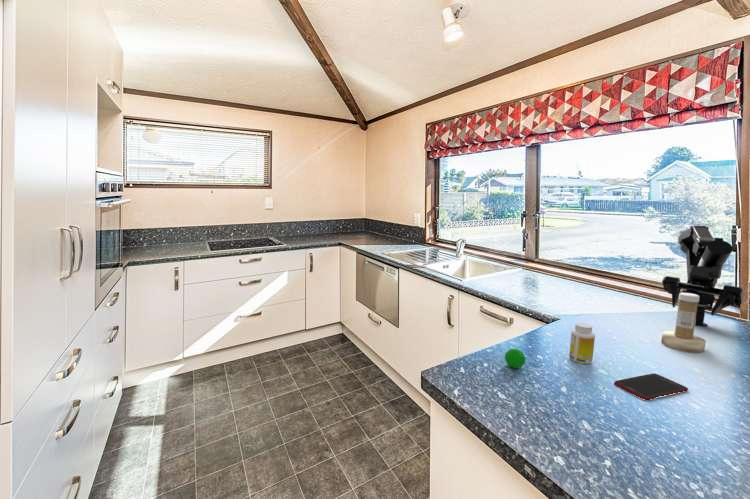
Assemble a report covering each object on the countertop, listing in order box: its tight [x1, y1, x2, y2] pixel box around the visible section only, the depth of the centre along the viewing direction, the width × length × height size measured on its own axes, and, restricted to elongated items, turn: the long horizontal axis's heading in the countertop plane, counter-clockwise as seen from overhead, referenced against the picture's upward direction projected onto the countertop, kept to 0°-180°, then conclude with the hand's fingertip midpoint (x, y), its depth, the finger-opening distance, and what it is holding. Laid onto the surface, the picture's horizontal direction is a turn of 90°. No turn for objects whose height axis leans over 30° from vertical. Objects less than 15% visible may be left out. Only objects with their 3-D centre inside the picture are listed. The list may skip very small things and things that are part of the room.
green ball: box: [504, 348, 526, 369], centre depth 92 cm, size 5×5×5 cm
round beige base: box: [660, 330, 707, 354], centre depth 106 cm, size 10×10×3 cm
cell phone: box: [613, 373, 689, 401], centre depth 83 cm, size 8×15×1 cm, turn 108°
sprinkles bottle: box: [674, 292, 699, 339], centre depth 106 cm, size 5×5×13 cm
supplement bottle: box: [568, 322, 596, 365], centre depth 96 cm, size 6×6×10 cm
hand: (691, 310), depth 108 cm, fingers open, 9 cm apart
